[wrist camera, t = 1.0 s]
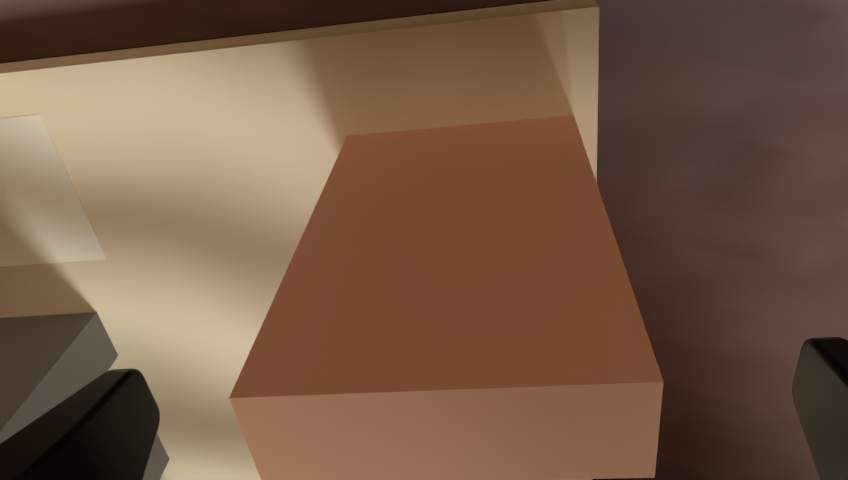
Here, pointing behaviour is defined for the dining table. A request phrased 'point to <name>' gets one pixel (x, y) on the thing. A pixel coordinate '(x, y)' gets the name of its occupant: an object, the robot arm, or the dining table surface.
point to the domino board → (238, 177)
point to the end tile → (455, 320)
